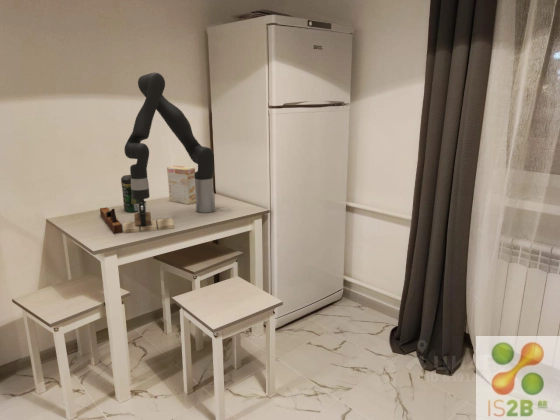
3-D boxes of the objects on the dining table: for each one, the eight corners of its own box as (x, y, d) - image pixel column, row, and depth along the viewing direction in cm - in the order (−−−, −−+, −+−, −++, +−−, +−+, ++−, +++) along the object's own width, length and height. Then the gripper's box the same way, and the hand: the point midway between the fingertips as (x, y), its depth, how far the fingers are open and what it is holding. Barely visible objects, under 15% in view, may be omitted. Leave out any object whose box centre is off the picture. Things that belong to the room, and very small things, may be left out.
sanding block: (150, 222, 205) (150, 211, 203) (151, 224, 201) (150, 214, 199) (135, 223, 203) (134, 213, 201) (135, 226, 199) (134, 215, 197)
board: (172, 221, 211) (172, 218, 211) (174, 228, 201) (174, 225, 201) (123, 225, 205) (123, 222, 205) (123, 233, 195) (123, 229, 194)
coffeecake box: (197, 201, 247) (195, 167, 242) (188, 204, 241) (186, 169, 236) (178, 198, 255) (175, 165, 249) (169, 201, 249) (166, 167, 244)
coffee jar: (121, 209, 232) (118, 175, 227) (136, 207, 237) (133, 173, 232) (129, 213, 225) (125, 177, 220) (144, 210, 230) (140, 175, 225)
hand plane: (126, 232, 197) (124, 211, 194) (114, 234, 194) (111, 212, 191) (108, 214, 224) (106, 195, 222) (97, 216, 221) (95, 197, 219)
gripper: (149, 190, 192) (152, 227, 196) (148, 183, 205) (151, 219, 209) (131, 191, 189) (135, 229, 194) (131, 185, 203) (134, 220, 207)
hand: (143, 223), depth 202 cm, fingers closed on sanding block, 4 cm apart
